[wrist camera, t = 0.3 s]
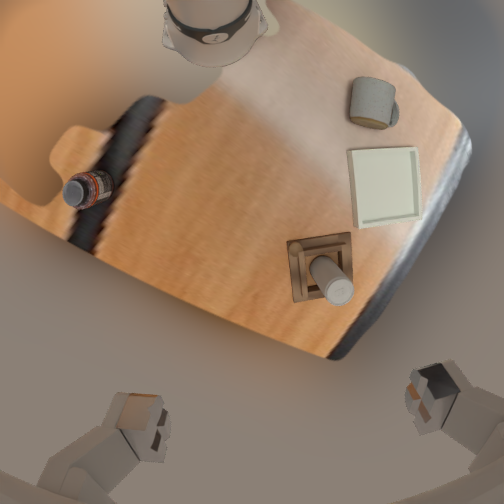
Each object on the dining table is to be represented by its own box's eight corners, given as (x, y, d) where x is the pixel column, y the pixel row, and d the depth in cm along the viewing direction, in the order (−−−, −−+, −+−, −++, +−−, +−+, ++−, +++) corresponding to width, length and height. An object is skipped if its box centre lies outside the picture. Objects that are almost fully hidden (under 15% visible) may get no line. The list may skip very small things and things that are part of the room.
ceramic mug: (342, 122, 51) (359, 118, 44) (347, 81, 49) (364, 72, 41) (392, 136, 52) (414, 135, 45) (397, 97, 50) (418, 91, 42)
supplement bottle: (87, 202, 52) (57, 213, 42) (86, 171, 51) (55, 175, 40) (115, 201, 53) (89, 212, 42) (114, 169, 51) (87, 172, 40)
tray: (346, 150, 52) (351, 150, 50) (411, 147, 52) (417, 147, 50) (353, 225, 56) (358, 229, 54) (415, 216, 56) (422, 219, 54)
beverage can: (336, 273, 59) (358, 299, 47) (313, 282, 59) (330, 311, 48) (329, 251, 58) (351, 273, 46) (305, 260, 58) (322, 285, 46)
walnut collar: (286, 241, 57) (289, 245, 54) (349, 231, 57) (353, 235, 54) (293, 300, 60) (295, 306, 58) (351, 290, 60) (356, 295, 58)
